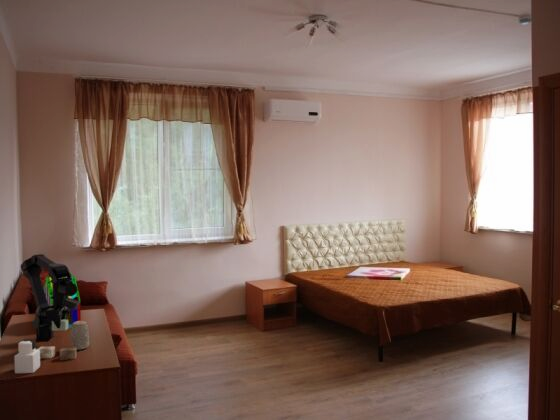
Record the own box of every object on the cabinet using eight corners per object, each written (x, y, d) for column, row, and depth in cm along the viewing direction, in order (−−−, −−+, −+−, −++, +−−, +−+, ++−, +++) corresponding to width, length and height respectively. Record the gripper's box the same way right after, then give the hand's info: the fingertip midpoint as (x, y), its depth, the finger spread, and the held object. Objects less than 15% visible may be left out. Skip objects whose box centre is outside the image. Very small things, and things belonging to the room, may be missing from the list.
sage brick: (52, 330, 227) (51, 321, 227) (55, 328, 230) (54, 319, 230) (65, 330, 227) (65, 321, 227) (68, 328, 231) (68, 319, 230)
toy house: (80, 326, 258) (79, 278, 257) (52, 331, 251) (51, 281, 249) (70, 316, 278) (69, 271, 277) (43, 319, 271) (42, 273, 269)
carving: (71, 347, 226) (70, 321, 225) (89, 345, 229) (88, 319, 228) (71, 351, 220) (70, 324, 220) (89, 349, 223) (89, 323, 223)
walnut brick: (60, 360, 210) (59, 351, 210) (61, 357, 214) (61, 348, 213) (75, 359, 212) (75, 350, 211) (76, 356, 215) (76, 347, 215)
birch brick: (37, 358, 213) (37, 349, 212) (41, 355, 216) (40, 346, 216) (51, 358, 213) (51, 349, 212) (55, 355, 216) (55, 346, 216)
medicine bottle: (22, 367, 203) (21, 337, 202) (40, 366, 203) (39, 337, 202) (14, 373, 195) (13, 343, 195) (33, 373, 196) (32, 343, 195)
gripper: (69, 297, 219) (70, 333, 220) (84, 288, 237) (85, 321, 238) (43, 298, 218) (44, 333, 219) (60, 288, 237) (61, 321, 238)
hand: (60, 327), depth 229 cm, fingers closed on sage brick, 3 cm apart
